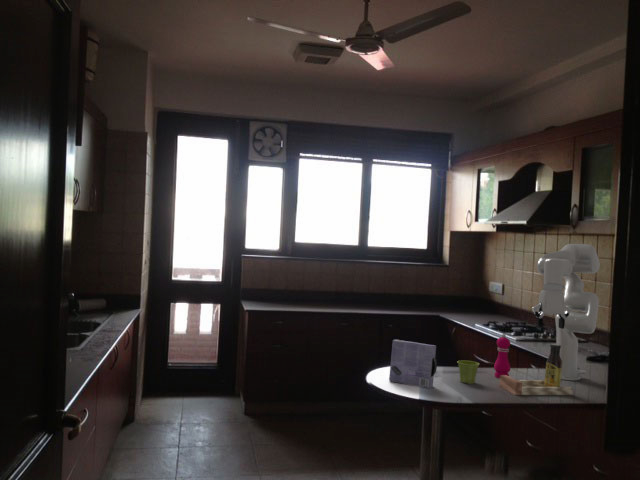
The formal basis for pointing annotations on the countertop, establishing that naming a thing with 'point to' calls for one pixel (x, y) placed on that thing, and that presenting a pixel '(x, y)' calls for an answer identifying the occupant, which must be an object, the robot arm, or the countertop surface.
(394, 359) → the cake pan box
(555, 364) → the sauce bottle
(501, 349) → the pepper mill
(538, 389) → the guide track
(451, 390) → the countertop surface
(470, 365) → the plant pot
